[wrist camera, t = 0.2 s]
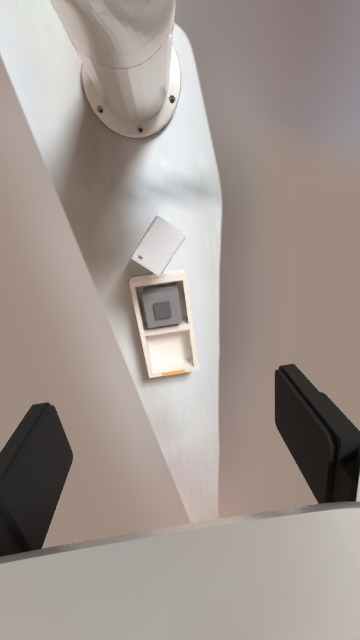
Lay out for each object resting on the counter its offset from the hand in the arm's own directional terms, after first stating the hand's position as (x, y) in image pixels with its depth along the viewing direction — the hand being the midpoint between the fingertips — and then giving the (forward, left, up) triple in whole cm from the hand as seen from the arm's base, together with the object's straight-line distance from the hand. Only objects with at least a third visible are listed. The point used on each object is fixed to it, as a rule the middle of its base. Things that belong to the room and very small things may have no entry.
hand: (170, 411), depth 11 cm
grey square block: (+6, -1, -36) cm, 36 cm away
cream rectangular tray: (+10, -1, -36) cm, 37 cm away
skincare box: (-4, 0, -36) cm, 36 cm away
